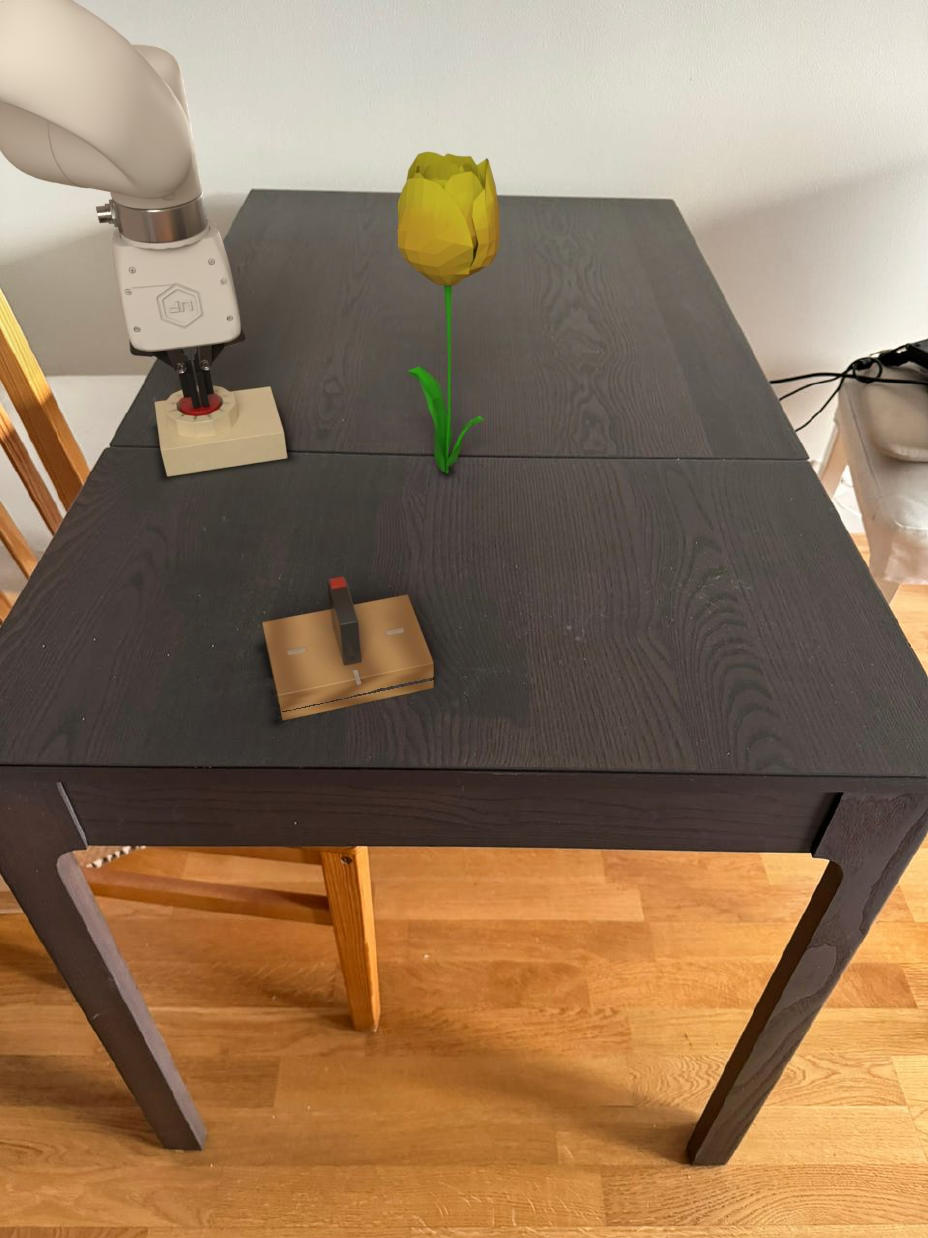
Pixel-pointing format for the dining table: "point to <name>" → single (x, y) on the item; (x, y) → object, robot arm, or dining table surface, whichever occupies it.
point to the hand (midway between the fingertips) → (200, 400)
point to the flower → (447, 251)
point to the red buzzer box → (220, 432)
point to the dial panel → (315, 663)
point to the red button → (187, 406)
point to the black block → (344, 621)
